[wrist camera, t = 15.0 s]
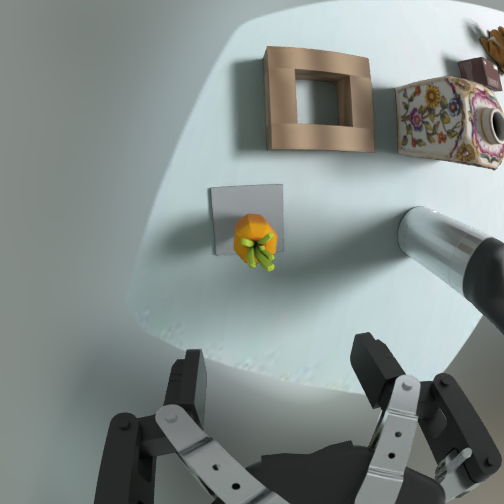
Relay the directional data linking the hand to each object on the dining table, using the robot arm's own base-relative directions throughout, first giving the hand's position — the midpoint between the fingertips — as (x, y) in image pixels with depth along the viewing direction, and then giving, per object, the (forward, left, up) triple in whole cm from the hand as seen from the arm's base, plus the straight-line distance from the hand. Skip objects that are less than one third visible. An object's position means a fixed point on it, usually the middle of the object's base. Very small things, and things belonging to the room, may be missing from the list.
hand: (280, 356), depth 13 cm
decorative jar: (-30, -16, -28) cm, 44 cm away
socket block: (-10, -17, -28) cm, 34 cm away
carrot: (0, 0, -28) cm, 28 cm away
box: (-46, -30, -28) cm, 62 cm away
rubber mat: (0, 0, -28) cm, 28 cm away
